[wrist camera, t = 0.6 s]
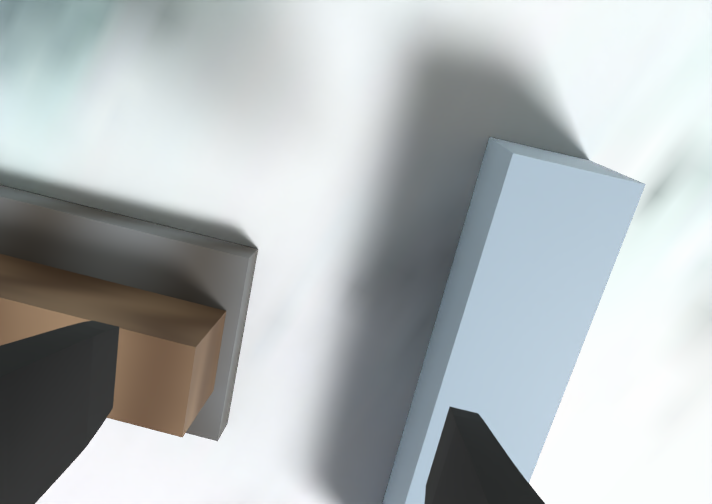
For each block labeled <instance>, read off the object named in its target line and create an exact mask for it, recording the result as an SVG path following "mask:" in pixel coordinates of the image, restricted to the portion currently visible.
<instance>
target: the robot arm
mask: <svg viewBox="0 0 712 504" xmlns="http://www.w3.org/2000/svg"><path fill="white" fill-rule="evenodd" d="M118 340H119V327H118V326H114V325H110V324H106V323H101V322H97V321H93V320H92V321H86V322H81V323H77V324H73V325H69V326H66V327H62V328H59V329H55V330H52V331H48V332H45V333H42V334H38V335H35V336H31V337H28V338H25V339H21V340H18V341H14V342H11V343H8V344H4V345H1V346H0V504H35V503H36V502H37V501H38V499H39V498H40V497H41V496H42V495H43V494H44V493H45V492H46V491H47V490H48V489H49V488H50V486H51V485H52V484H53V483H54V482H55V481H56V480H57V479H58V478H59V477H60V476H61V474H62V473H63V472H64V471H65V470H66V469H67V468H68V467H69V466H70V464H71V463H72V462H73V461H74V460H75V459H76V458H77V457H78V456H79V454H80V453H81V452H82V451H83V450H84V449H85V448H86V446H87V445H88V444H89V442H90V441H91V439H92V438H93V437H94V435H95V434H96V432H97V431H98V430H99V428H100V427H101V425H102V424H103V422H104V421H105V419H106V418H107V416H108V415H109V413H110V412H111V410H112V409H113V401H114V388H115V376H116V364H117V352H118ZM425 504H545V503H544V502H543V501H542V499H541V498H540V497H539V496H538V495H537V493H536V492H535V491H534V489H533V488H532V487H531V486H530V484H529V483H528V482H527V480H526V479H525V478H524V477H523V475H522V474H521V473H520V471H519V470H518V468H517V467H516V466H515V464H514V463H513V462H512V460H511V459H510V457H509V456H508V455H507V453H506V452H505V450H504V449H503V448H502V446H501V445H500V443H499V442H498V440H497V439H496V437H495V436H494V435H493V433H492V432H491V430H490V429H489V427H488V426H487V424H486V423H485V422H484V420H483V419H482V417H481V416H480V415H479V414H478V413H475V412H471V411H466V410H462V409H458V408H454V407H449V410H448V413H447V417H446V420H445V423H444V427H443V430H442V433H441V437H440V440H439V443H438V447H437V450H436V453H435V456H434V460H433V463H432V466H431V470H430V473H429V476H428V480H427V483H426V489H425Z"/></svg>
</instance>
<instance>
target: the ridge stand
mask: <svg viewBox="0 0 712 504" xmlns="http://www.w3.org/2000/svg"><path fill="white" fill-rule="evenodd" d="M257 252H258V249H256V248H252V247H248V246H244V245H240V244H236V243H232V242H228V241H224V240H220V239H216V238H212V237H208V236H204V235H200V234H196V233H192V232H188V231H184V230H180V229H176V228H171V227H167V226H163V225H159V224H155V223H151V222H147V221H143V220H139V219H135V218H131V217H127V216H123V215H119V214H115V213H111V212H107V211H103V210H99V209H95V208H91V207H87V206H83V205H79V204H75V203H71V202H67V201H63V200H59V199H54V198H50V197H46V196H42V195H38V194H34V193H30V192H26V191H22V190H18V189H14V188H10V187H6V186H2V185H0V346H1V345H4V344H8V343H11V342H14V341H18V340H21V339H25V338H28V337H31V336H35V335H38V334H42V333H45V332H48V331H52V330H55V329H59V328H62V327H66V326H69V325H73V324H77V323H81V322H86V321H92V320H93V321H97V322H101V323H106V324H110V325H114V326H118V327H119V340H118V352H117V364H116V376H115V388H114V401H113V409H112V410H111V412H110V413H109V415H108V416H107V418H110V419H114V420H118V421H122V422H126V423H130V424H133V425H137V426H141V427H145V428H149V429H152V430H156V431H160V432H164V433H168V434H172V435H175V436H179V437H183V436H184V434H185V433H189V434H192V435H196V436H200V437H204V438H208V439H212V440H215V441H218V439H219V438H220V436H221V434H222V432H223V430H224V429H225V427H226V425H227V422H228V417H229V411H230V405H231V400H232V394H233V388H234V383H235V377H236V371H237V366H238V360H239V354H240V349H241V343H242V337H243V332H244V326H245V320H246V315H247V309H248V303H249V298H250V292H251V286H252V281H253V275H254V269H255V264H256V258H257Z"/></svg>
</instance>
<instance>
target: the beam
mask: <svg viewBox="0 0 712 504" xmlns="http://www.w3.org/2000/svg"><path fill="white" fill-rule="evenodd" d="M644 187H645V184H643V183H641V182H639V181H636V180H634V179H632V178H629V177H627V176H625V175H622V174H620V173H618V172H615V171H613V170H611V169H608V168H606V167H604V166H601V165H599V164H597V163H594V162H592V161H590V160H586V159H581V158H577V157H573V156H569V155H564V154H560V153H556V152H552V151H547V150H543V149H539V148H535V147H530V146H526V145H522V144H518V143H513V142H509V141H505V140H501V139H496V138H492V137H489V140H488V144H487V147H486V150H485V154H484V157H483V161H482V164H481V168H480V171H479V174H478V178H477V181H476V185H475V188H474V191H473V195H472V198H471V202H470V205H469V209H468V212H467V215H466V219H465V222H464V226H463V229H462V232H461V236H460V239H459V243H458V246H457V250H456V253H455V256H454V260H453V263H452V267H451V270H450V273H449V277H448V280H447V284H446V287H445V291H444V294H443V297H442V301H441V304H440V308H439V311H438V314H437V318H436V321H435V325H434V328H433V331H432V335H431V338H430V342H429V345H428V349H427V352H426V355H425V359H424V362H423V366H422V369H421V372H420V376H419V379H418V383H417V386H416V390H415V393H414V396H413V400H412V403H411V407H410V410H409V413H408V417H407V420H406V424H405V427H404V431H403V434H402V437H401V441H400V444H399V448H398V451H397V454H396V458H395V461H394V465H393V468H392V472H391V475H390V478H389V482H388V485H387V489H386V492H385V495H384V499H383V502H382V504H425V489H426V483H427V480H428V476H429V473H430V470H431V466H432V463H433V460H434V456H435V453H436V450H437V447H438V443H439V440H440V437H441V433H442V430H443V427H444V423H445V420H446V417H447V413H448V410H449V407H454V408H458V409H462V410H466V411H471V412H475V413H478V414H479V415H480V416H481V417H482V419H483V420H484V422H485V423H486V424H487V426H488V427H489V429H490V430H491V432H492V433H493V435H494V436H495V437H496V439H497V440H498V442H499V443H500V445H501V446H502V448H503V449H504V450H505V452H506V453H507V455H508V456H509V457H510V459H511V460H512V462H513V463H514V464H515V466H516V467H517V468H518V470H519V471H520V473H521V474H522V475H523V477H524V478H525V479H526V480H527V482H528V483H529V481H530V478H531V476H532V473H533V471H534V468H535V466H536V463H537V460H538V458H539V455H540V453H541V450H542V448H543V445H544V443H545V440H546V437H547V435H548V432H549V430H550V427H551V425H552V422H553V420H554V417H555V414H556V412H557V409H558V407H559V404H560V402H561V399H562V397H563V394H564V391H565V389H566V386H567V384H568V381H569V379H570V376H571V373H572V371H573V368H574V366H575V363H576V361H577V358H578V356H579V353H580V350H581V348H582V345H583V343H584V340H585V338H586V335H587V333H588V330H589V327H590V325H591V322H592V320H593V317H594V315H595V312H596V310H597V307H598V304H599V302H600V299H601V297H602V294H603V292H604V289H605V286H606V284H607V281H608V279H609V276H610V274H611V271H612V269H613V266H614V263H615V261H616V258H617V256H618V253H619V251H620V248H621V246H622V243H623V240H624V238H625V235H626V233H627V230H628V228H629V225H630V223H631V220H632V217H633V215H634V212H635V210H636V207H637V205H638V202H639V199H640V197H641V194H642V192H643V189H644Z"/></svg>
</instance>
